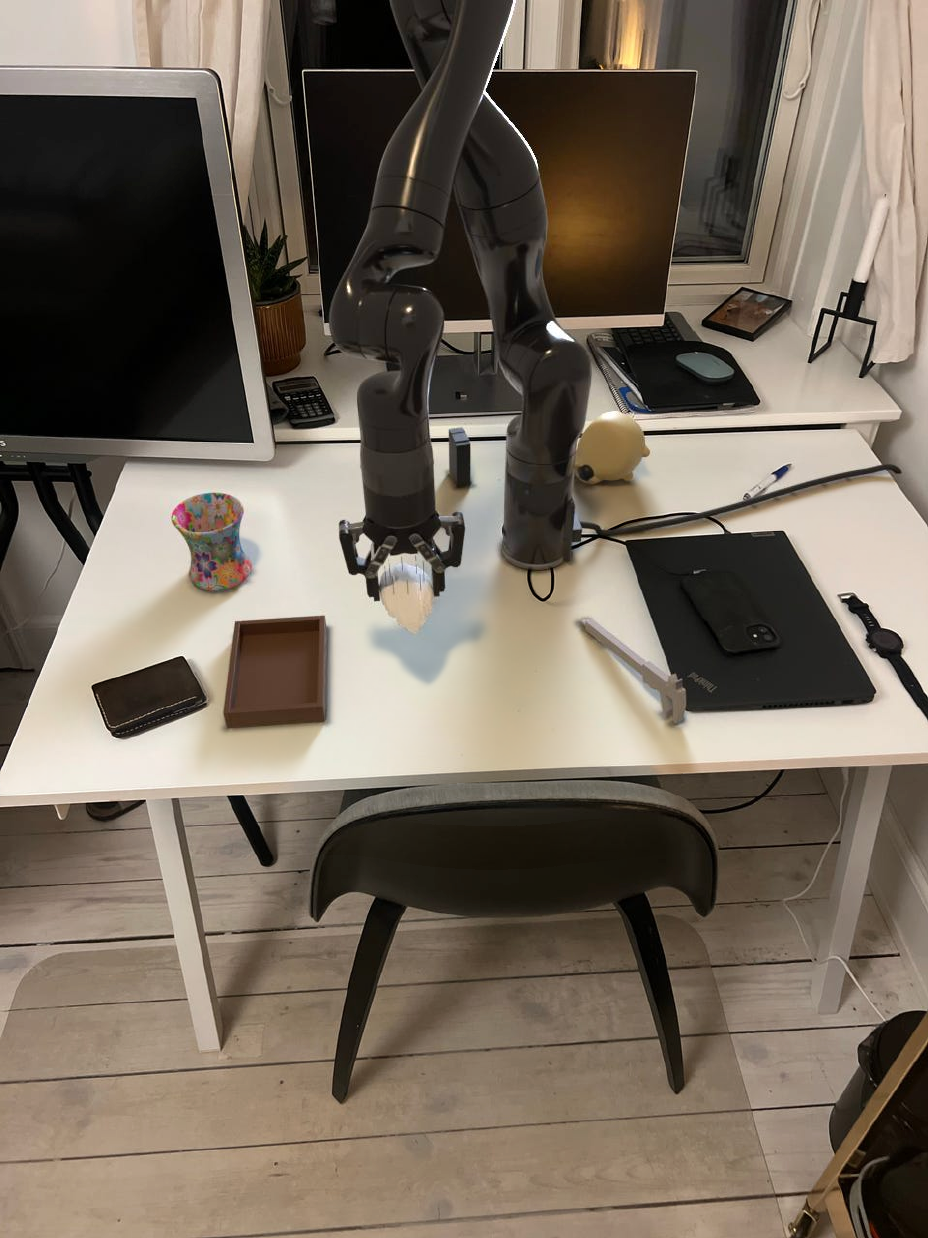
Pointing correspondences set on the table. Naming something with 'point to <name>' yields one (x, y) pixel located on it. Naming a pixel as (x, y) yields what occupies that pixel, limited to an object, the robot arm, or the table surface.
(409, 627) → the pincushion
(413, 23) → the robot arm
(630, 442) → the toy pig
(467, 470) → the ink cartridge
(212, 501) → the mug
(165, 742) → the table surface
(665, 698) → the caliper
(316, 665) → the tray
